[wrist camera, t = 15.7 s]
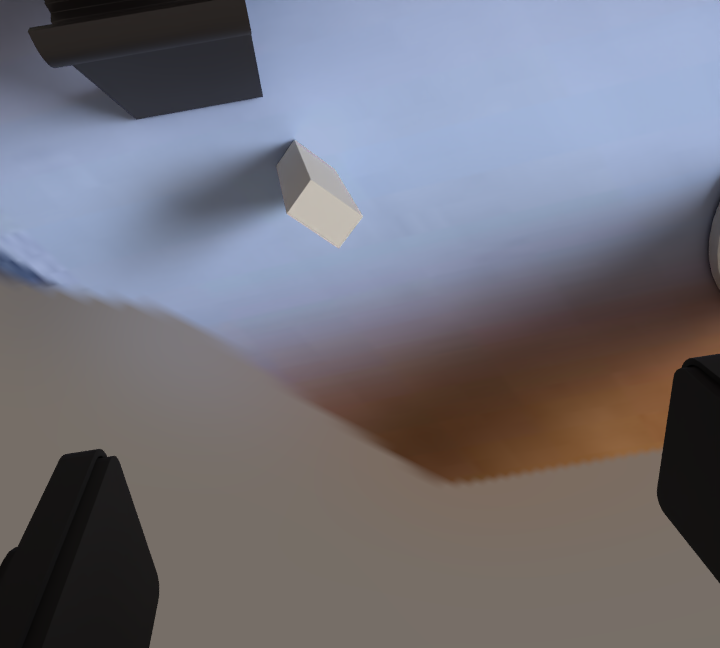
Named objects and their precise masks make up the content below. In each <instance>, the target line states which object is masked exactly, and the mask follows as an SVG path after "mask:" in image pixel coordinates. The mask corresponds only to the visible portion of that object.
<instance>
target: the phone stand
mask: <svg viewBox="0 0 720 648" xmlns="http://www.w3.org/2000/svg"><path fill="white" fill-rule="evenodd" d="M44 1H45V5H46V6H47V8H48V9H49V11H50V12H51V23H52V24H50V25H44V26H38V27H32V28H29V30H28V33H29V35H30V37H31V39H32V41H33V43H34V45H35V47H36V48H37V50H38V52H39V53H40V55H41V56H42V58H43V59H44V60H45V61H46V63H47V64H48V65H50V66H51V67H53V68H58V67H63V66H69V65H73V66H74V67H75V68H76V69H77V70H79V71H80V72H81V73H82V74H83V75H85V76H86V77H87V78H88V79H89V80H90V81H92V82H93V83H94V84H95V85H96V86H97V87H99V88H100V89H101V90H102V91H103V92H105V93H106V94H107V95H108V96H109V97H110V98H112V99H113V100H114V101H115V102H116V103H118V104H119V105H120V106H121V107H122V108H123V109H125V110H126V111H127V112H128V113H129V114H131V115H132V116H133V117H134V118H135V119H142V118H147V117H153V116H158V115H164V114H169V113H175V112H180V111H186V110H192V109H197V108H203V107H208V106H214V105H219V104H225V103H230V102H236V101H241V100H247V99H253V98H258V97H263V94H262V89H261V84H260V79H259V73H258V68H257V63H256V57H255V52H254V47H253V42H252V36H251V28H250V23H249V18H248V13H247V8H246V3H245V0H44Z"/></svg>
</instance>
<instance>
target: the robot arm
mask: <svg viewBox="0 0 720 648" xmlns="http://www.w3.org/2000/svg"><path fill="white" fill-rule="evenodd" d="M709 262H710V267H711V272H712V275H713V277H714V280H715V282H716V284H717V286H718V288H719V289H720V203H719V206H718V208H717V211H716V214H715V216H714V219H713V223H712V228H711V233H710V238H709ZM657 497H658V501H659V504H660V506H661V509H662V510H663V512H664V513H665V515H666V516H667V517H668V519H669V520H670V521H671V522H672V524H673V525H674V526H675V527H676V528H677V530H678V531H679V532H680V534H681V535H682V536H683V537H684V539H685V540H686V541H687V542H688V544H689V545H690V546H691V548H692V549H693V550H694V551H695V553H696V554H697V555H698V556H699V557H700V559H701V560H702V561H703V563H704V564H705V565H706V566H707V568H708V569H709V570H710V571H711V573H712V574H713V575H714V577H715V578H716V579H717V580H718V582H719V583H720V354H715V355H709V356H702V357H695V358H689V359H688V360H686V361H685V362H684V363H683V365H682V368H680V369H678V370H677V371H676V372H675V374H674V378H673V385H672V391H671V398H670V405H669V412H668V418H667V425H666V432H665V439H664V446H663V452H662V459H661V466H660V473H659V480H658V487H657ZM158 598H159V581H158V575H157V572H156V569H155V566H154V563H153V560H152V557H151V554H150V551H149V549H148V546H147V542H146V540H145V536H144V533H143V530H142V527H141V524H140V521H139V519H138V515H137V512H136V510H135V507H134V504H133V501H132V498H131V495H130V492H129V489H128V486H127V483H126V480H125V477H124V474H123V471H122V468H121V465H120V462H119V460H118V459H117V457H116V456H110V457H107V455H106V454H105V452H104V451H103V450H101V449H96V450H89V451H83V452H77V453H70V454H65V455H63V456H62V457H61V458H60V460H59V462H58V464H57V466H56V468H55V470H54V472H53V474H52V476H51V478H50V481H49V483H48V485H47V487H46V489H45V491H44V493H43V495H42V497H41V500H40V501H39V504H38V506H37V508H36V510H35V512H34V514H33V516H32V518H31V521H30V522H29V524H28V526H27V528H26V531H25V533H24V535H23V537H22V539H21V541H20V543H19V545H18V547H15V548H14V549H12V550H11V551H9V553H8V554H7V556H6V557H5V559H4V560H3V562H2V564H1V566H0V648H149V645H150V640H151V635H152V630H153V625H154V619H155V614H156V609H157V604H158Z"/></svg>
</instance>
